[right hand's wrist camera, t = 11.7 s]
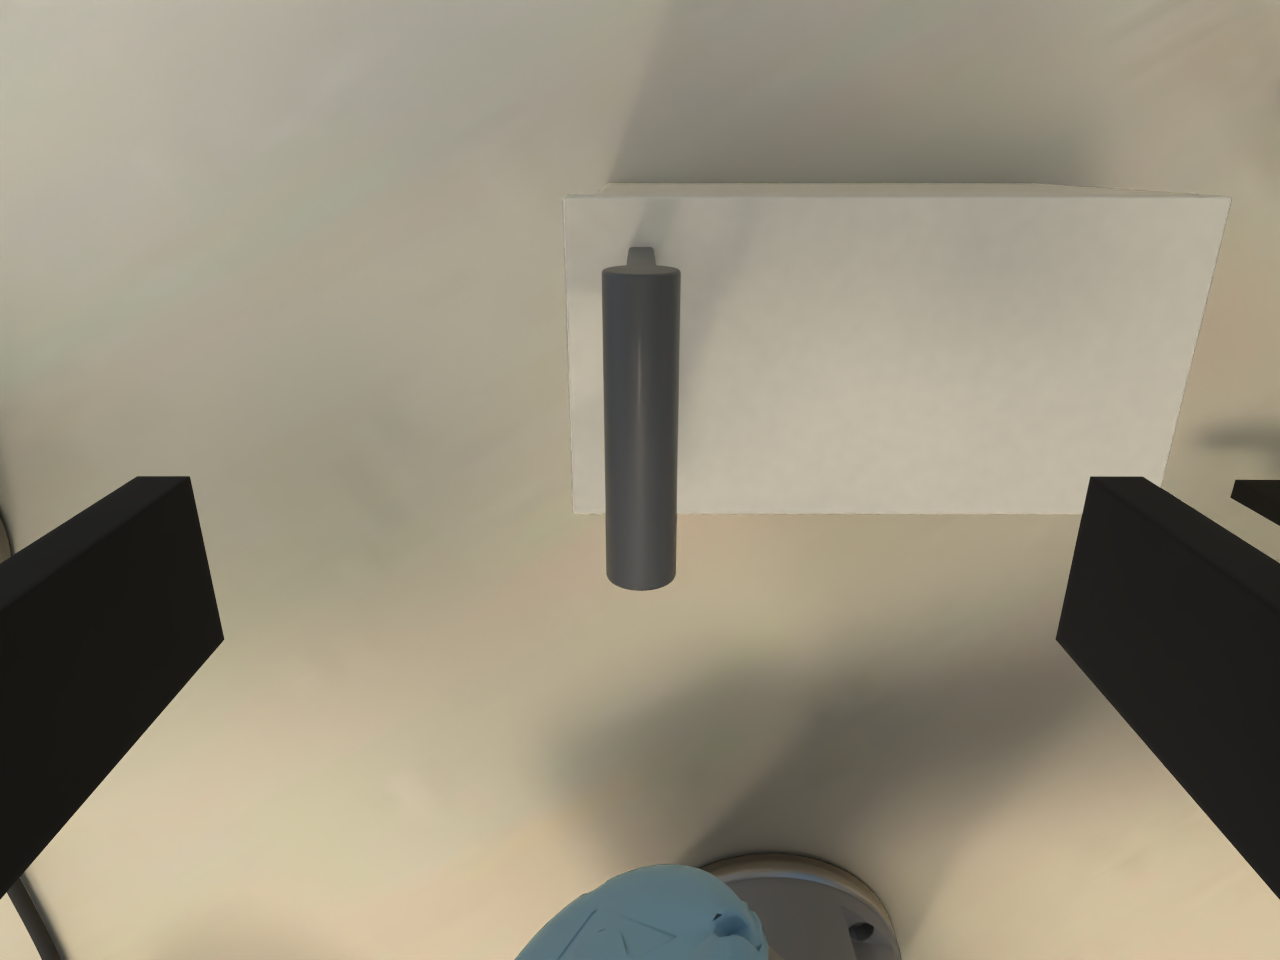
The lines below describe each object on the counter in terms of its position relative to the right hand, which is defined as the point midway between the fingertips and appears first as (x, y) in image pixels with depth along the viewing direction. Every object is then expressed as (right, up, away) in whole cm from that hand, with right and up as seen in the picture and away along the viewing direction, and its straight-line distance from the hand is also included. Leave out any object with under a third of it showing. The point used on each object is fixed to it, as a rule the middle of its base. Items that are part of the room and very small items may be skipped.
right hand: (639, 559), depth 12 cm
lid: (+7, +5, +13) cm, 15 cm away
